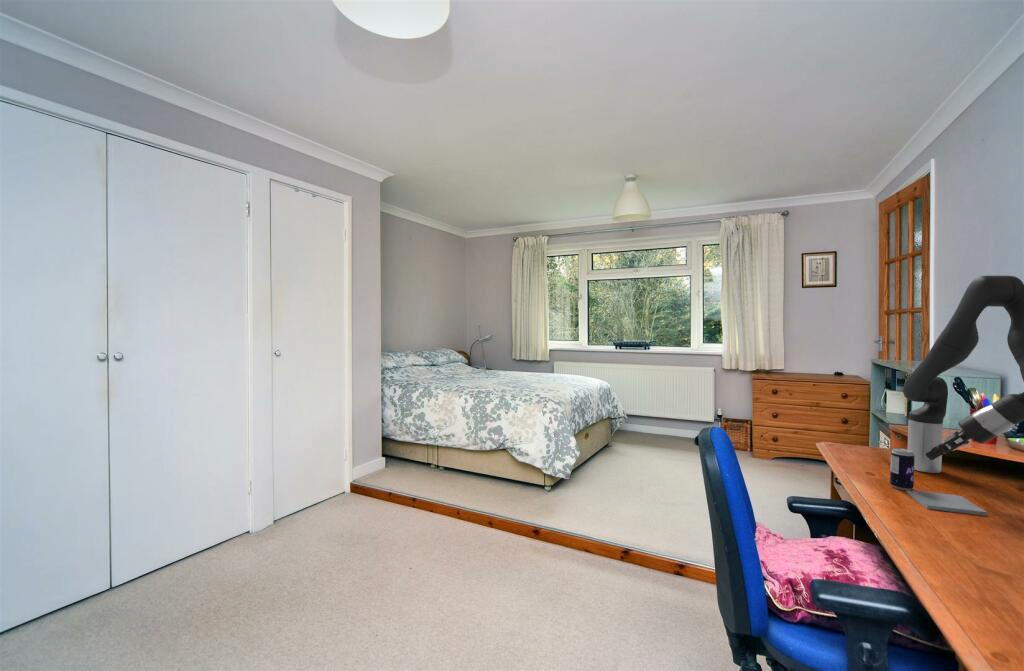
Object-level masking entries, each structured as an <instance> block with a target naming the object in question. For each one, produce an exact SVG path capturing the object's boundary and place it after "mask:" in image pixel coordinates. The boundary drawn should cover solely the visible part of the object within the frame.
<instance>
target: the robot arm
mask: <svg viewBox="0 0 1024 671" xmlns="http://www.w3.org/2000/svg"><path fill="white" fill-rule="evenodd" d="M964 291H965V292H964V293H963V296H962V298H961V300H960V301H959V303H958V305H957V308H956V309H955V311H954V312H953V315H952V316H951V317H950V320H949V321H948V323H947V324H946V325H945V327H944V329H943V330H942V331H941V332H940V334H939V336H938V337H937V339H936V340H935V342H934V343H933V344H932V347H931V348H930V349H929V351H928V353H926V355H925V356H924V358H923V359H922V361H921V362H919V364H918V365H917V367H916V368H915V369H913V371H912V372H911V373H910V374H909V375H908V377H907V379H906V380H904V381H905V382H904V383H903V387H902V394H903V395H904V397H905V399H906V400H908V401H911V402H916V403H923V405H922V406H921V407H919V408H917V409H914V410H911V411H909V413H908V423H907V424H908V426H907V427H908V429H907V430H908V431H907V449H908V450H911V451H913V454H914V456H915V460H914V471H918V472H922V473H930V474H932V473H933V474H938V473H939V474H940V473H942V459H943V457H942V456H943V455H947V454H949V453H950V452H954V451H956V450H958V449H960V448H961V447H965V446H967V445H968V444H969V443H970V441H969V440H971V439H972V440H974V441H975V442H977V443H978V444H982V445H983V444H985V443H987V442H989V441H991V440H992V439H994V438H996V437H998V436H1001V435H1002V434H1004V433H1006V432H1008V431H1009V430H1010V429H1012V428H1013V427H1014V426H1016V425H1018V424H1020V423H1022V422H1024V391H1022V392H1020V393H1010V394H1007V395H1004V396H1003V397H1000V398H999V399H997V400H995V401H994V402H993V403H990V404H989V405H985V406H983V407H982V408H980V409H978V410H976V411H974V412H973V413H971V414H970V415H968V416H966V417H965V418H963V419H961V420H959V421H958V422H957V424H958V427H959V428H960V429H961V431H958V430H956V431H954V432H953V433H951V434H950V435H949V436H947V437H946V438H945V439H944V440H943V434H944V431H943V430H944V419H945V417H946V414H947V408H948V399H949V398H948V397H949V389H948V384H947V381H945V379H944V378H942V377H940V375H941V374H942V373H945V372H946V371H948V370H950V369H952V368H954V367H956V366H957V365H959V364H961V363H962V362H964V361H966V359H968V357H969V356H970V355H971V354H972V352H973V351H974V349H976V347H977V345H978V343H979V340H980V339H979V338H980V337H979V332H978V327H977V321H978V318H979V317H980V315H981V313H982V312H983V311H984V310H985V309H986V308H988V307H996V308H997V307H1003V308H1004V309H1005V311H1006V313H1008V315H1009V318H1010V326H1009V329H1008V332H1007V337H1006V338H1007V346H1008V349H1009V350H1010V352H1011V355H1012V356H1013V358H1014V360H1015V363H1016V364H1017V365H1018V367H1019V371H1020V375H1021V379H1022V381H1023V382H1024V282H1023V281H1022V280H1021V279H1020V278H1019V277H1017V276H1013V275H981V276H978V277H976V278H974V279H973V280H972V281H971V282H970V283H969V285H968V286H967V287H966V290H964Z"/></svg>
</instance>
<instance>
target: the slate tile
mask: <svg viewBox="0 0 1024 671" xmlns="http://www.w3.org/2000/svg"><path fill="white" fill-rule="evenodd" d="M906 494H907V495H908V494H909V495H908V496H910V497H912V498H913V499H914V500H916V501H917V502H918V504H920V505H922V506H923V507H924V508H925V509H928V510H935V511H943V512H952V513H959V514H969V515H976V516H984V517H987V516H988V512H987V511H986V510H984V509H983V508H981V507H979V506H978V505H977V504H975V503H973V502H971V501H970V500H968V499H967V498H965V497H964V496H961V495H957V494H948V493H947V494H946V493H940V492H939V493H938V492H931V491H923V490H922V491H921V490H920V491H919V490H913V489H910V490H906Z"/></svg>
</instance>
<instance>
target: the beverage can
mask: <svg viewBox="0 0 1024 671" xmlns="http://www.w3.org/2000/svg"><path fill="white" fill-rule="evenodd" d="M914 460H915V456H914V454H913V451H911V450H908V448H902V447H894V448H892V450H891V453H890V473H889V474H890V476H889V477H890V478H889V484H890V485H891V486H892V488H894V489H897V490H901V491H907V490H913V489H914V482H915V481H914V480H915V470H914Z"/></svg>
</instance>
